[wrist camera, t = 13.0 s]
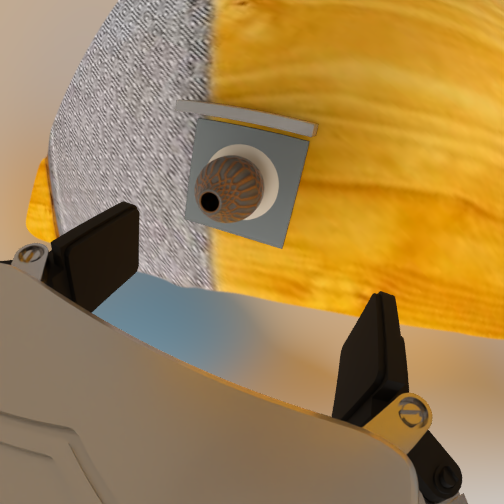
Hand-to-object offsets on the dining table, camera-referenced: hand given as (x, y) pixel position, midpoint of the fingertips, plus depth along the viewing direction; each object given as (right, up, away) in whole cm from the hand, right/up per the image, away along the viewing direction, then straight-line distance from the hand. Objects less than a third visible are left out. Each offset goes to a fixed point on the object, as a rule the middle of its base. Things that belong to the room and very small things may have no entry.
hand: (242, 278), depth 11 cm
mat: (-1, +9, +23) cm, 25 cm away
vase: (-1, +9, +23) cm, 24 cm away
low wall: (+1, +16, +19) cm, 25 cm away
